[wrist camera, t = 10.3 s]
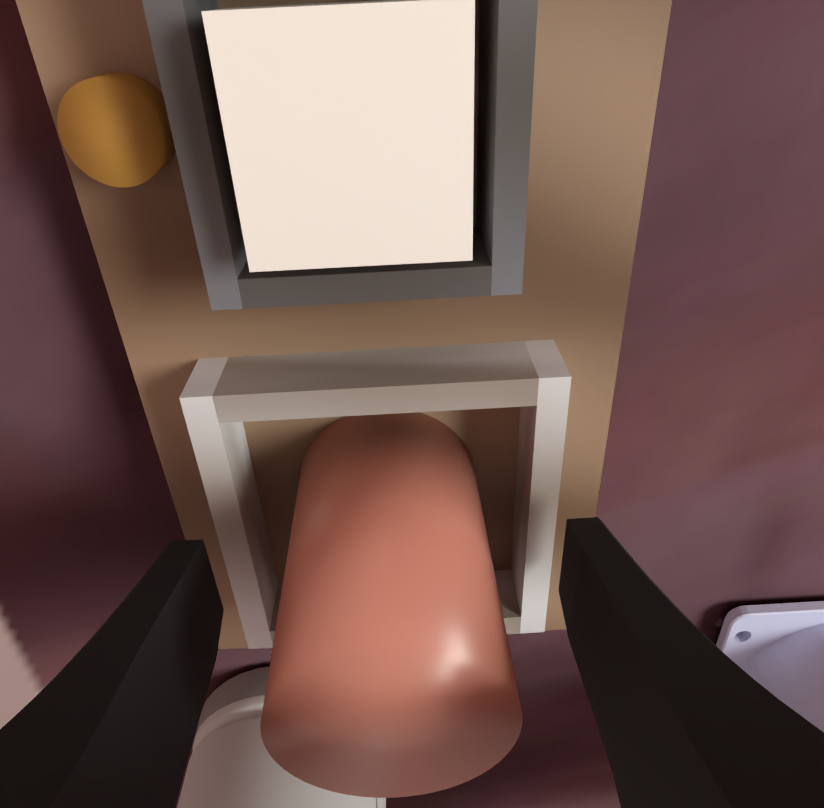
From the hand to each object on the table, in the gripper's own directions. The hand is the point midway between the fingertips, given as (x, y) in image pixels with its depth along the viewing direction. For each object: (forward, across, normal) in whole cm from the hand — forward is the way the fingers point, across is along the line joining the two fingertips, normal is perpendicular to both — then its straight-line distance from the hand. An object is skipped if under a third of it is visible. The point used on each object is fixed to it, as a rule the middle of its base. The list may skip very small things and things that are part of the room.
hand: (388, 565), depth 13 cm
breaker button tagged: (+2, 0, -8) cm, 8 cm away
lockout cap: (+2, 0, 0) cm, 2 cm away
